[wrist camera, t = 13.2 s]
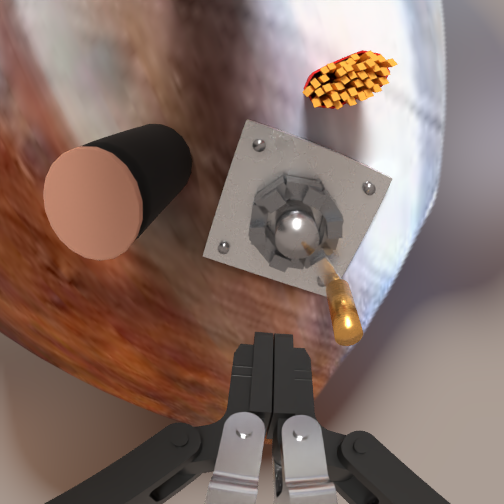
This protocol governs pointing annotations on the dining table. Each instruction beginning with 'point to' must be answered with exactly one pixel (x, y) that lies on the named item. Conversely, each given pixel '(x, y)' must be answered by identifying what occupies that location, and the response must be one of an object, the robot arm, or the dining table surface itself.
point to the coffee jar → (115, 188)
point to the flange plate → (297, 166)
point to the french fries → (348, 80)
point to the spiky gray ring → (329, 234)
